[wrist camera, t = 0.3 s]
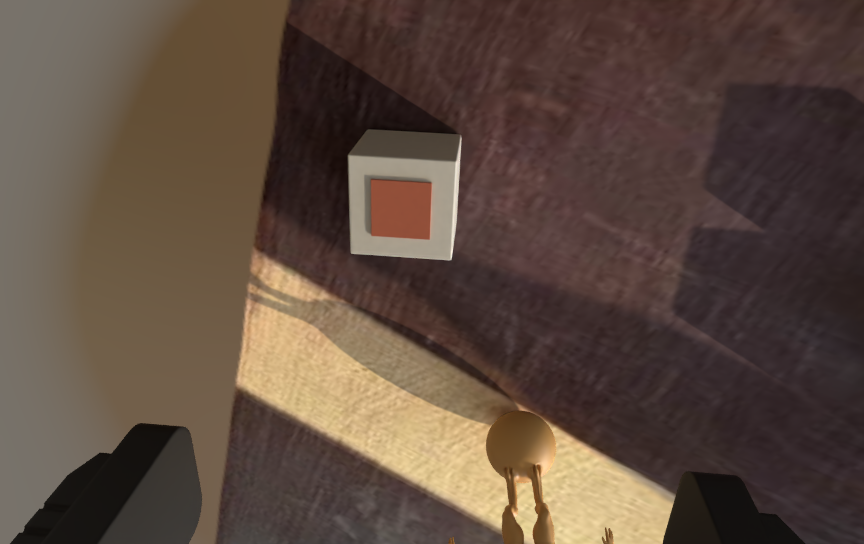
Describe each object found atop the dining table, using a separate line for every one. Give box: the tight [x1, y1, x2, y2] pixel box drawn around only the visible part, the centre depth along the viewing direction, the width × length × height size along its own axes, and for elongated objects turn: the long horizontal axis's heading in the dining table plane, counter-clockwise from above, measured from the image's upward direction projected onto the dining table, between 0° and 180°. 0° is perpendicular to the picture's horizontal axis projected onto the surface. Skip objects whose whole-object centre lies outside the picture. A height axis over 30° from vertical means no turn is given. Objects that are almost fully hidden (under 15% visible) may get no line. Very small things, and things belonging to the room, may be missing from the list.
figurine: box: [449, 411, 614, 544], centre depth 32 cm, size 8×6×12 cm
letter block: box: [348, 129, 461, 260], centre depth 28 cm, size 5×5×5 cm
